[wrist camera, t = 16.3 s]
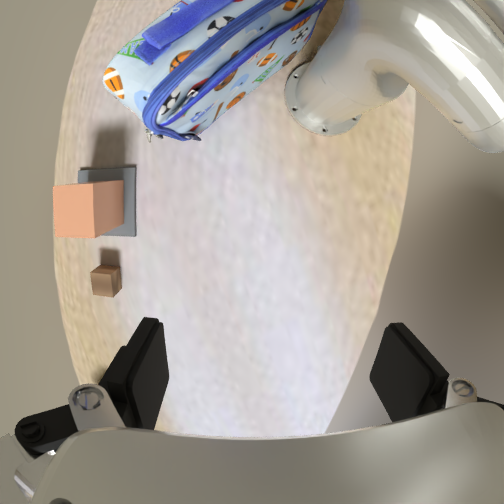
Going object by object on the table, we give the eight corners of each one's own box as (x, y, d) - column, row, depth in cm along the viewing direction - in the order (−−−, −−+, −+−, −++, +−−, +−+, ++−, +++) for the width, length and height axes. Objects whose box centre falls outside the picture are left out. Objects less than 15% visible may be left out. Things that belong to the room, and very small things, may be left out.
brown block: (100, 264, 44) (90, 272, 40) (120, 266, 44) (110, 274, 40) (102, 285, 45) (93, 294, 41) (121, 288, 45) (113, 297, 41)
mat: (79, 170, 39) (78, 170, 39) (136, 167, 40) (134, 167, 39) (81, 233, 42) (79, 234, 42) (136, 235, 43) (134, 236, 42)
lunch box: (187, 161, 40) (132, 153, 19) (142, 120, 38) (63, 85, 17) (312, 49, 35) (361, -26, 14) (265, 12, 33) (281, -74, 12)
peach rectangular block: (87, 181, 39) (52, 186, 30) (123, 180, 40) (92, 183, 30) (88, 223, 41) (55, 236, 32) (124, 223, 42) (94, 238, 32)
